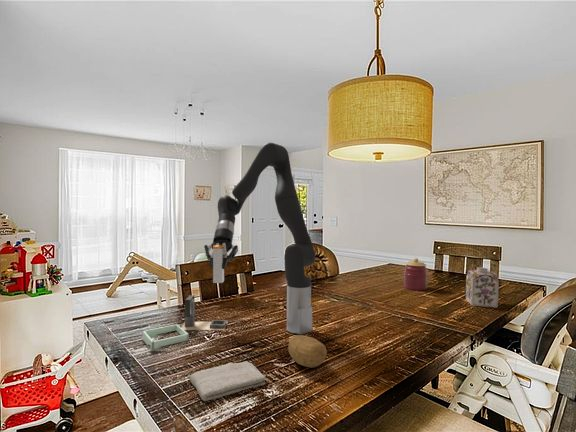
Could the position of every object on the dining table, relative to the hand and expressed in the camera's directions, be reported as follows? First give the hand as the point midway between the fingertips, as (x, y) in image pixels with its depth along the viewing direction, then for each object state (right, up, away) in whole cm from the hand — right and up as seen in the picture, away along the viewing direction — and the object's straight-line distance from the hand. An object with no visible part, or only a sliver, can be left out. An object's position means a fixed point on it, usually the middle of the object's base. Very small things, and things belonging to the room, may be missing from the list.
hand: (217, 267), depth 130 cm
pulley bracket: (-6, -24, +3) cm, 25 cm away
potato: (+32, -25, -27) cm, 49 cm away
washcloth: (+11, -26, -38) cm, 47 cm away
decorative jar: (+123, -24, +41) cm, 132 cm away
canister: (+102, -23, +72) cm, 127 cm away
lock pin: (0, -6, +2) cm, 6 cm away
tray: (-16, -24, -10) cm, 31 cm away
